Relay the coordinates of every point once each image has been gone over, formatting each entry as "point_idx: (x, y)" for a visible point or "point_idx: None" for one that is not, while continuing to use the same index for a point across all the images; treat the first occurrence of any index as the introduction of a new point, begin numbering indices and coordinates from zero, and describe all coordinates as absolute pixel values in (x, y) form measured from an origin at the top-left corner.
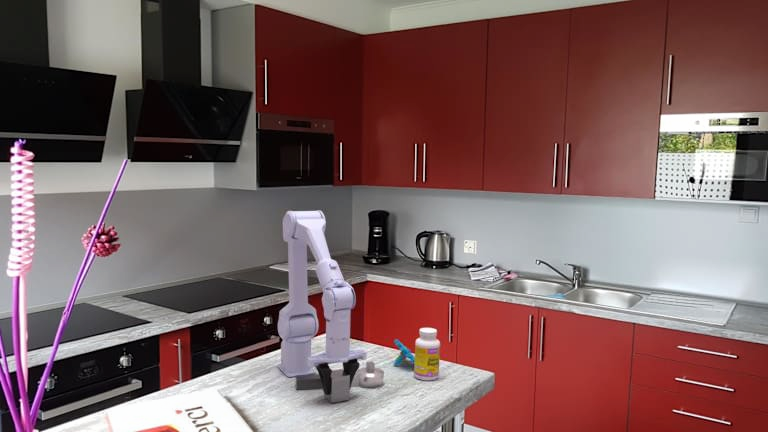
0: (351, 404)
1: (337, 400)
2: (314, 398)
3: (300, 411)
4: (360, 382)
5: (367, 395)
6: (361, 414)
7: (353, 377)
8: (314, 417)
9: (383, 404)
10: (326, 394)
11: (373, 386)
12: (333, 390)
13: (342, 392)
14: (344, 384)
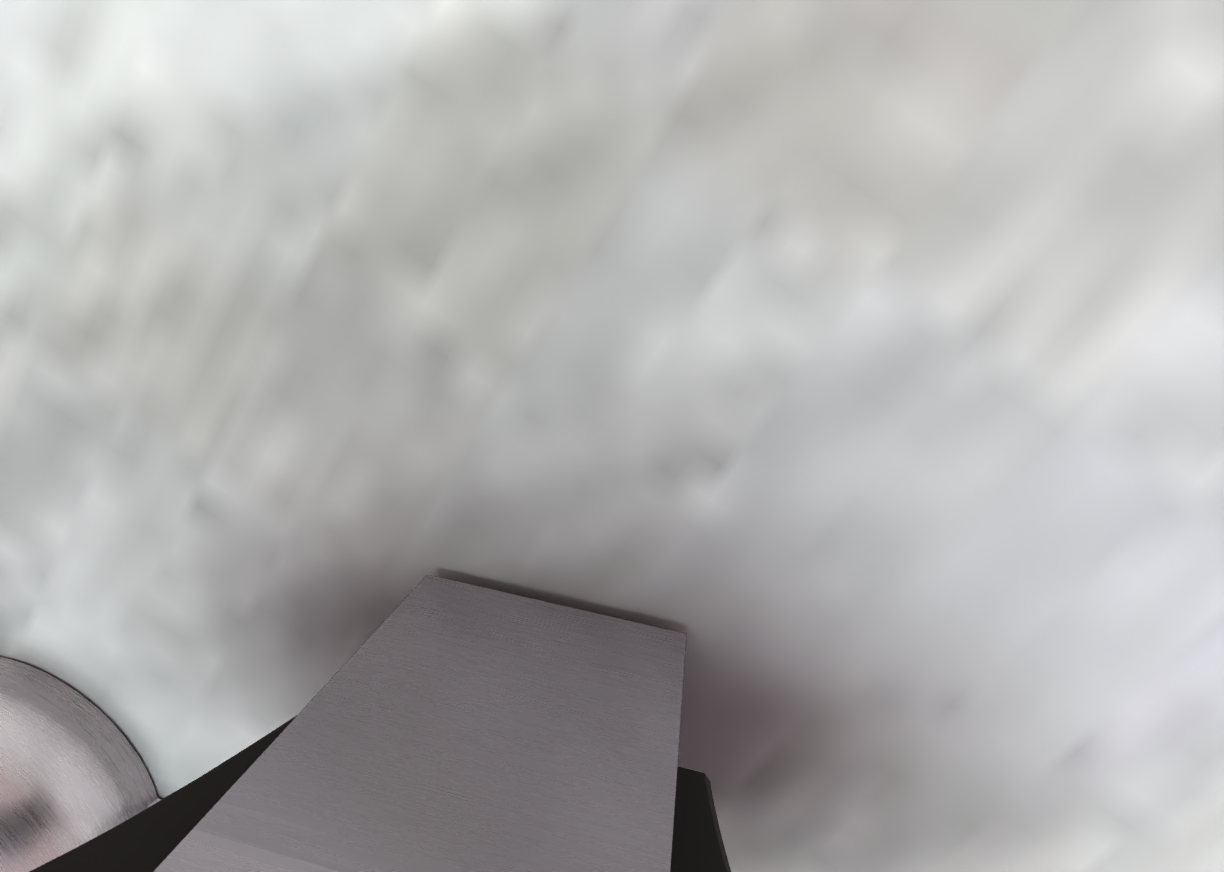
0: (462, 467)
1: (594, 624)
2: (757, 865)
3: (1202, 697)
4: (104, 822)
5: (169, 563)
6: (516, 76)
7: (78, 846)
8: (1206, 411)
9: (89, 213)
10: (707, 793)
11: (17, 683)
12: (639, 767)
13: (482, 676)
14: (381, 775)
